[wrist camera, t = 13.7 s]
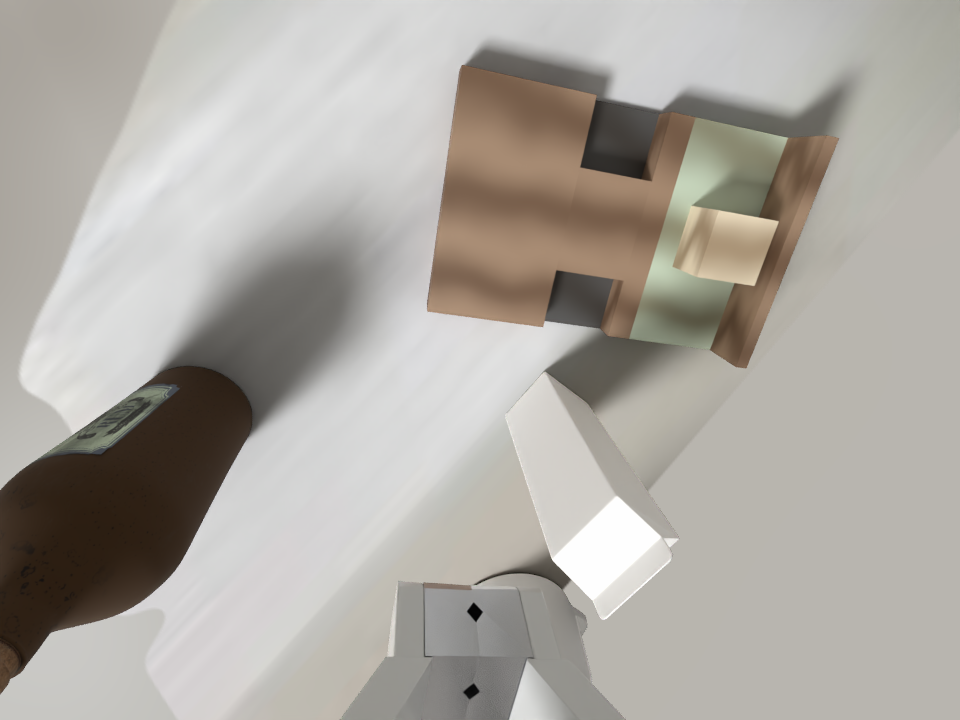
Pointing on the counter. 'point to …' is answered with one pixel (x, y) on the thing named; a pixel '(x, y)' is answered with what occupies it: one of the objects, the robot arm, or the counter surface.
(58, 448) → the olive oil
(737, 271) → the block
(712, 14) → the counter surface
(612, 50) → the counter surface
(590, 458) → the milk
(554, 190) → the board
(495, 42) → the counter surface
